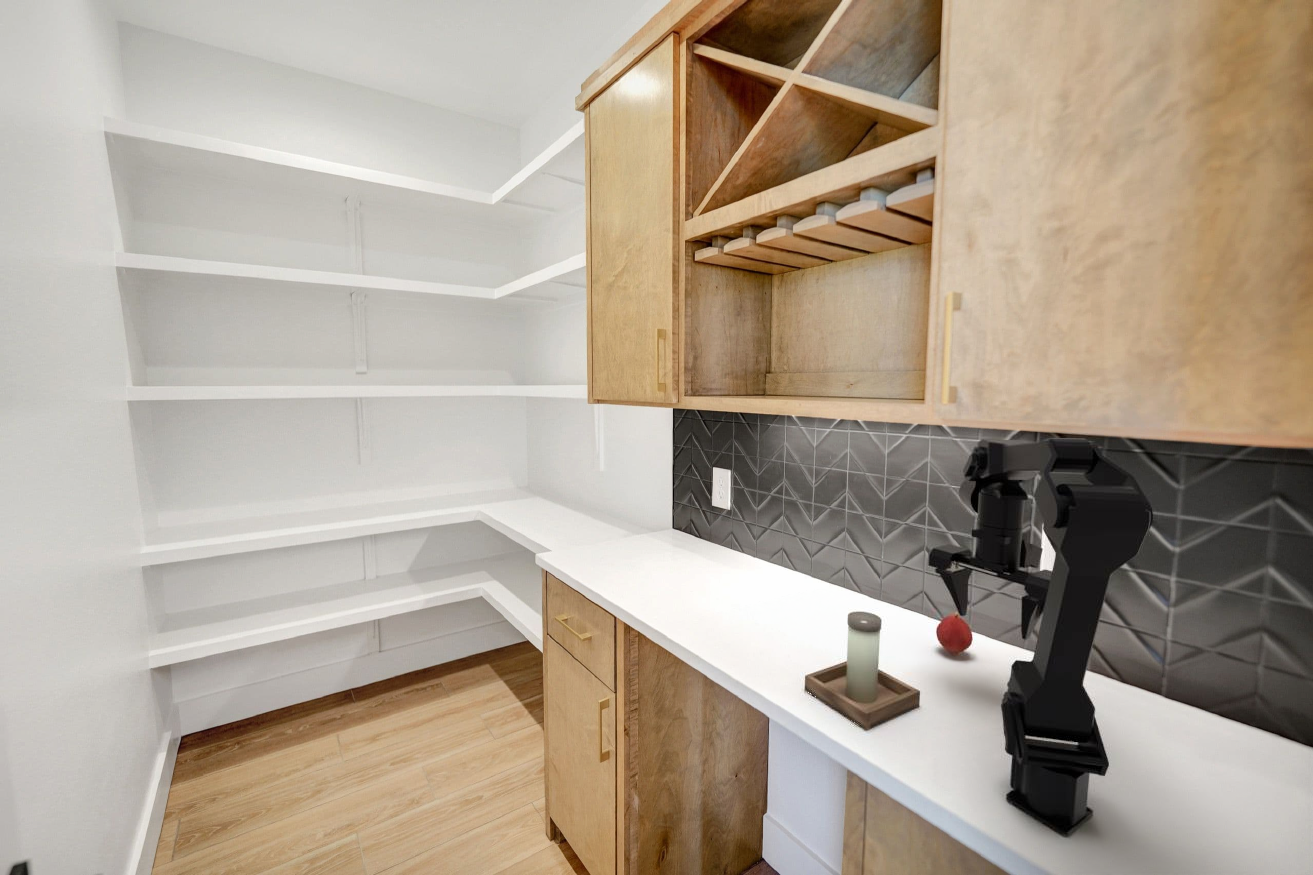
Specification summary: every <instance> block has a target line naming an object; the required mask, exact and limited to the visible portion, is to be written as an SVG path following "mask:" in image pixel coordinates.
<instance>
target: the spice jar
mask: <svg viewBox="0 0 1313 875" xmlns="http://www.w3.org/2000/svg"><path fill="white" fill-rule="evenodd" d="M882 622H883V621H882V618H881V617H880V616H878V615H876V614H875V613H872V612H868V611H852V612H849V613H848V614H847V625H848V627H847V629H848V630H847V650H846V652H847V653H846V661H847V671H846V695H847V696H848V697H849V698H850V699H852V700H854V701H857V702H860V703H872V702H875V701H876V699H877V684H878V669H879V664H880V663H879V660H880V659H879V658H880V657H879V656H880V641H881V640H880V639H881V629H882Z"/></svg>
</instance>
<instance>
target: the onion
mask: <svg viewBox="0 0 1313 875" xmlns="http://www.w3.org/2000/svg"><path fill="white" fill-rule="evenodd" d="M935 629H936V630H935V631H936V639H937V640H938V642H939V644H940V645H941V646H942V647H943V648H944V649H945V651H947V652H948V653H949V654H950V655H953V656H957V655H959V654H960V653H963V652H964V651H966V650H967V649H969V648H970V647H971V645H972V643H973V640H974V639H973V632H972V630H971V627H970V626H969V624H967V622H966V621H965V620H964V619H962V618H961V616H960V615H959V612H954V613H952V614H951V615H947V616H946V617H945V618H943V619H942V620H941V621H940V622H939V624H938V625H937V626H936V628H935Z"/></svg>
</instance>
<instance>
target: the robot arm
mask: <svg viewBox="0 0 1313 875" xmlns="http://www.w3.org/2000/svg"><path fill="white" fill-rule="evenodd" d="M962 472H963V478H964V481H963V482H962V483H961V484H960V487H959V488H958V496H959V498H960V501H961V502H962V503H963V504H964V505H965V506H966V507H967V508H969V509H970V510H972V511H974V513H976V514H977V523H976V528H975V529H971V537H972V538H975V550H974V551H975V552H974V553H975V554H974V555H973V553H972V551H971V549H969V548H965V547H961V546H958V545H954V544H951V543H949V544H945V545H940V546H935V547H932V548H931V549H930V550H929V553H928V555H927V565H928V566H929V567H931V568H935V569H934V572H935V573H936V574H938V575H939V576H940V578H941V579H942V581H943V584H944V586H946V589H947V590H948V592H949V594H950V596H951V598H952V601H953V603H954V606H955V608H956V610H957V613H959V617H964V616H966V615H967V610H968V604H969V602H968V599H969V580H970V577H971V576H972V573H973V571H975V572H978V573H982V574H984V575H987V576H992V577H995V578H997V579H1001V580H1004V581H1005V580H1006V581H1009V582H1012V583H1014V584H1019V585H1022V586H1024V591H1025V592H1026V595H1022V596H1021V610H1020V611H1021V615H1020V616H1021V618H1020V620H1021V621H1020V632H1021V638H1022V640H1025V641H1026V640H1028V639H1029V638H1030V637H1031V635H1032V633H1033V632H1034V629H1035V628H1036V626H1037V624H1038V623H1039V620H1040V618H1041V622H1040V625H1039V630H1038V635H1037V639H1036V643H1035V650H1034V653H1033V657H1032V660H1030V661H1027V660H1018V659H1016V660H1015V661H1014V662H1013V663H1012V664H1011V669H1010V676H1009V680H1008V681H1007V683H1006V684H1007V691H1005V692H1004V693H1003V698H1002V699H1001V704H1000V709H1001V715H1002V722H1003V723H1002V724H1003V725H1002V728H1003V735H1004V736H1003V737H1004V740H1005V741H1004V744H1005V745H1004V751H1005V752H1006V754H1008V755H1010V756H1011V762H1010V763H1011V765H1010V766H1011V767H1010V780H1009V785H1010V788H1011V789H1012V790H1010V791H1008V792H1007V793H1005V794H1006V797H1005V799H1006V801H1008V802H1009V803H1011V804H1012V805H1014V806H1015V807H1017V808H1019V809H1020V810H1022V811H1023V812H1025V813H1026V814H1028V815H1030V816H1032V817H1033V818H1035V819H1037V820H1038V821H1040V822H1041V823H1043V824H1045V825H1046V826H1048V827H1050V828H1051V829H1052V830H1054V831H1055V832H1058V833H1059V834H1061V835H1063V836H1069V835H1071V833H1073V832H1074V831H1075V830H1077V829H1078V828H1079V827H1080V826H1081V825H1083V824H1084V823H1086V821H1088V820H1089V819H1091V818H1092V817H1093V816H1094V810H1093V809H1092V808H1090V807H1089V806H1088V795H1089V786H1090V785H1089V782H1090V775H1098V776H1099V777H1100V776H1101V777H1102V776H1103V777H1106V774H1107V771H1108V769H1109V767H1110V766H1109V765H1110V763H1109V760H1108V759H1109V758H1108V756H1107V753H1106V748H1105V746H1104V742H1103V739H1102V737H1101V736H1102V735H1101V733H1100V729H1099V726H1098V722H1097V719H1096V716H1095V714H1096V707H1095V705H1094V703H1093V701H1092V700H1091V698H1090V696H1089V694H1088V692H1087V690H1086V688H1085V686H1084V680H1085V678H1086V677H1085V676H1086V673H1087V669H1088V665H1089V661H1090V657H1091V653H1092V649H1093V645H1094V642H1095V638H1096V634H1097V630H1098V627H1099V624H1100V619H1101V615H1102V612H1103V608H1104V607H1103V606H1104V603H1105V600H1106V597H1107V591H1108V588H1109V584H1110V581H1111V577H1112V575H1113V573H1115V572H1116V571H1117V570H1119V569H1120V568H1122V567H1123V566H1124V565H1125V564H1127V563H1128V562H1130V561H1131V560H1132V559H1134V558H1136V556H1138V554H1139V552H1140V551H1141V548H1142V546H1143V543H1144V542H1145V539H1146V537H1147V535H1148V532H1149V530H1150V529H1151V527H1152V525H1153V523H1154V522H1153V521H1154V512H1153V511H1154V510H1153V509H1152V508H1153V507H1152V505H1151V502H1150V501H1149V500H1148V498H1147V496H1146V494H1145V493H1144V492H1143V490H1142V488H1141V486H1140V485H1139V483H1138V481H1137V480H1136V478H1135V477H1134V476H1133V475H1132V474H1131V473H1129V472H1128V471H1126V470H1125V469H1124V468H1122V467H1120V466H1119V465H1117V463H1114V462H1113V461H1111V460H1110V459H1109V458H1107V457H1106V456H1104V455H1103V453H1102V452H1101V449H1100V448H1099V446H1098V444H1097V443H1096V442H1095V441H1092V440H1088V439H1087V438H1076V437H1074V438H1070V437H1066V438H1065V437H1048V438H1046V439H1041V440H1037V441H1030V440H1024V439H1023V440H1022V439H1021V440H1019V439H1017V440H1016V439H1015V440H1014V439H986V438H985V439H983V438H982V439H980V440H979V441H978V442H977V446H974V447H973V449H972V451H971V453H970V454H969V456H968V459H967V461H966V463H965V465H964V467H963V469H962ZM1038 473H1040V475H1041V477H1040V479H1039V481H1038V484H1037V486H1036V488H1035V490H1034V493H1033V498H1034V500H1035V503H1036V506H1037V508H1038V510H1039V513H1040V515H1041V518H1042V520H1043V527H1042V530H1043V532H1044V534H1045V536H1046V538H1047V539H1048V541H1049V544H1050V545H1051V547H1052V549H1053V551H1054V552H1055V556H1054V561H1053V565H1052V570H1048V569H1043V570H1039V571H1036V572H1028V571H1026V570H1025V571H1024V570H1020V568H1022V569H1027V568H1034V569H1039V565H1040V562H1041V557H1042V553H1043V548H1042V547H1039V546H1037V545H1035V544H1032V543H1030V542H1028V537H1029V536H1028V533H1027V532H1025V531H1023V527H1024V526H1023V525H1024V516H1025V515H1024V513H1025V512H1024V510H1025V501H1028V500H1029V496H1028V493H1027V491H1026V490H1025V489H1023V488H1022V486H1021V484H1025V483H1026V482H1027V481H1028V480H1030V479H1032V478H1035V477H1037V476H1038ZM1050 474H1066V475H1070V474H1071V475H1075V474H1076V475H1083V476H1084V479H1086V480H1087V481H1088V482H1089V483H1091V484H1079V483H1077V484H1076V483H1075V484H1074V483H1060V484H1058V485H1057V486H1055V484H1054V481H1053V480H1052V478H1051V476H1050ZM1028 737H1032V738H1028ZM1036 738H1040V739H1036ZM1043 739H1047V740H1043ZM1048 739H1049V740H1048ZM1050 740H1051V741H1050ZM1052 740H1054V741H1052ZM1055 740H1056V741H1055ZM1058 741H1062V742H1058ZM1067 742H1069V743H1067ZM1070 742H1071V743H1070ZM1073 743H1074V744H1073ZM1075 743H1077V744H1075Z"/></svg>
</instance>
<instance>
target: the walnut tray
mask: <svg viewBox="0 0 1313 875" xmlns="http://www.w3.org/2000/svg"><path fill="white" fill-rule="evenodd" d="M846 671H847V660H845V661H842V662H840V663H838V664H835V665H832V666H829V667H826V668H822V669H820V670H818V671H814V672H812V673H809V674H806V675H804V691H805V690H806V691H807V692H806V691H805V692H806V693H808V692H809V693H811V694H812V695H814V696H816V697H817V698H818V699H820V700H821V701H820V700H819V701H820V702H822V703H823V702H824V703H823V704H825V705H826V704H827V705H826V706H828V707H829V708H831V709H832V708H833V709H832V710H834V709H835V710H836V711H835V710H834V711H835V712H837V711H838V712H839V714H840V713H841V714H843V715H844V716H843V715H842V716H843V717H845V716H846V717H847V718H846V717H845V718H846V719H848V718H849V719H850V720H849V719H848V720H849V721H851V720H852V721H853V722H852V721H851V722H852V723H854V722H855V723H857V724H858V725H859V726H858V725H857V724H856V725H857V726H858V727H860V728H861V727H862V728H861V729H863V730H864V729H865V730H864V731H868V730H870V729H872V728H875V727H877V726H879V725H882V724H885V723H886V722H888V721H890V720H892V719H893V720H894V719H895V718H897V717H899V716H902V715H904V714H906V713H908V712H911V711H912V710H915V709H917V708H919V707H920V703H921V702H920V700H921V690H919V689H917V688H916V687H913V686H911V685H909V684H907V683H905V682H904V681H902V680H900V679H899V678H896V677H894V676H892V675H890V674H888V673H887V672H884V671H883V670H881V669H879V668H878V684H877V699H876V701H875V702H872V703H860V702H857V701H854V700H852V699H850V698H849V697H848V696H847V695H846ZM809 693H808V694H809ZM811 694H810V695H811ZM812 695H811V696H812ZM814 696H813V697H814ZM817 698H816V699H817ZM818 699H817V700H818ZM838 712H837V713H838ZM841 714H840V715H841ZM855 723H854V724H855Z"/></svg>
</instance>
